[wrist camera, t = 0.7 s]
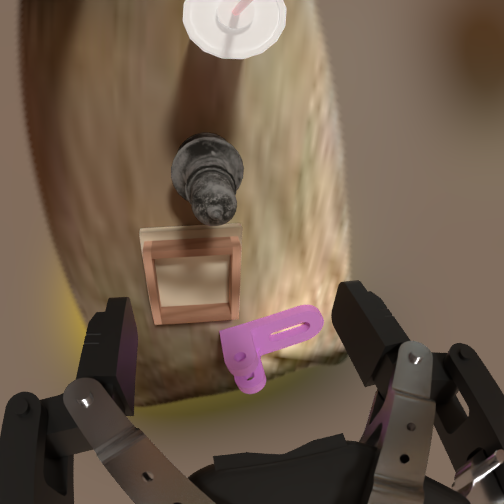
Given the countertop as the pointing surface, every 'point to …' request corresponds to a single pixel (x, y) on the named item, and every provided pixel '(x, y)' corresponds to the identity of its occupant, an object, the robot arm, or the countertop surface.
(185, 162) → the salt shaker
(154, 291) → the shaker holder
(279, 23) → the beverage cup
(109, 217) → the countertop surface
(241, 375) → the bracket
